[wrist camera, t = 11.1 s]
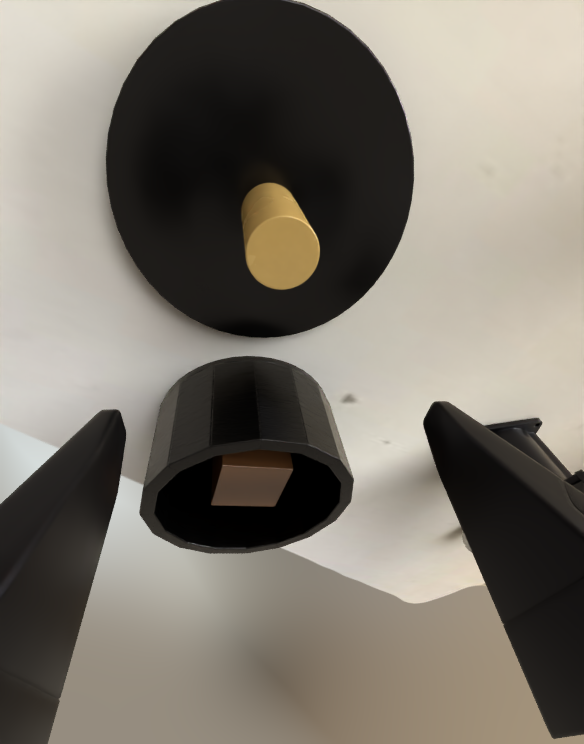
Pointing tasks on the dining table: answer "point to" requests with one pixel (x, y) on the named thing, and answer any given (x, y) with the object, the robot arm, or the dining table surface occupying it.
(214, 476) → the block
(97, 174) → the dining table surface
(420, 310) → the dining table surface
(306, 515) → the tin
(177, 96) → the tin lid
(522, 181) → the dining table surface
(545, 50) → the dining table surface
